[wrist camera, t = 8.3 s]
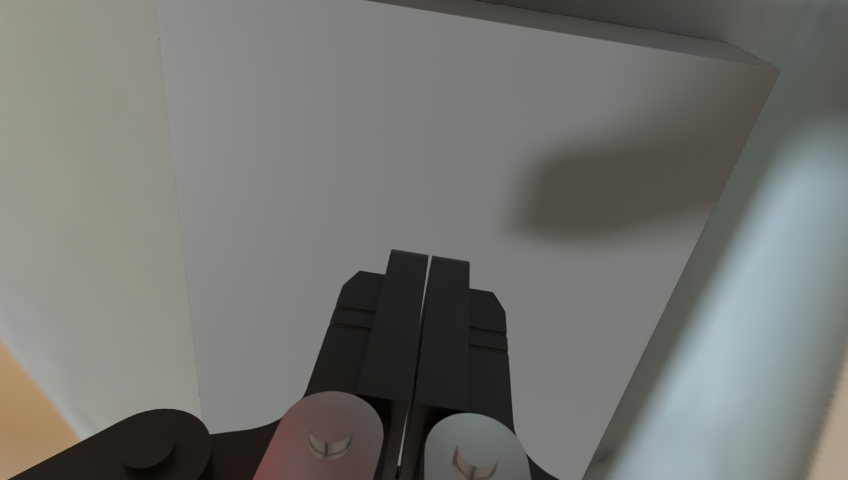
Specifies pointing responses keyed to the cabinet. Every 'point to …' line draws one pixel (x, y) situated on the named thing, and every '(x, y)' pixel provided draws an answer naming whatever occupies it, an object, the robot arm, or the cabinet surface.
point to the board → (443, 185)
